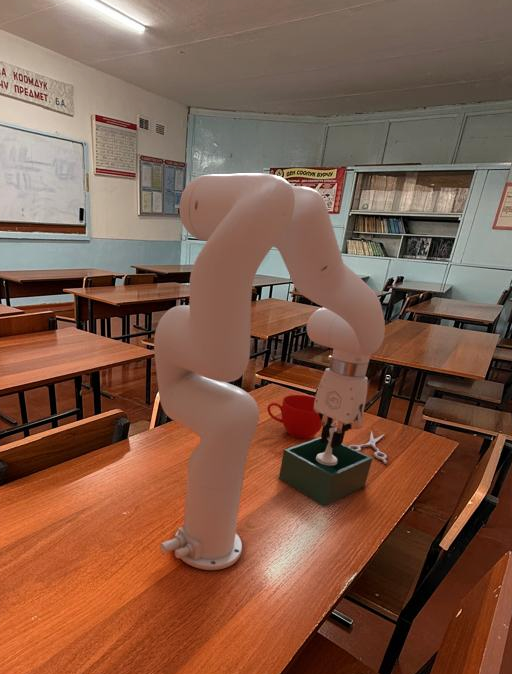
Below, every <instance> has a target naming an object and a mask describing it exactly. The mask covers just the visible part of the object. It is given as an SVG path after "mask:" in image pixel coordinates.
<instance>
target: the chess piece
mask: <svg viewBox="0 0 512 674" xmlns="http://www.w3.org/2000/svg"><path fill="white" fill-rule="evenodd" d="M331 426H333V428H330V429H329V433H330V437H327V440H328V441H329V442H328V445H327V447H326V450H325V452H323V453H319V454H317V457H316V460H317V461H318V462H319V463H321V464H323V465H328V466H333V465H336V464H337V458H336V457H335V456H333V454H332V448H331V441H332V437H333V433H334V432H335V431H337V426H338V421H333V423H332V424H331Z"/></svg>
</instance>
